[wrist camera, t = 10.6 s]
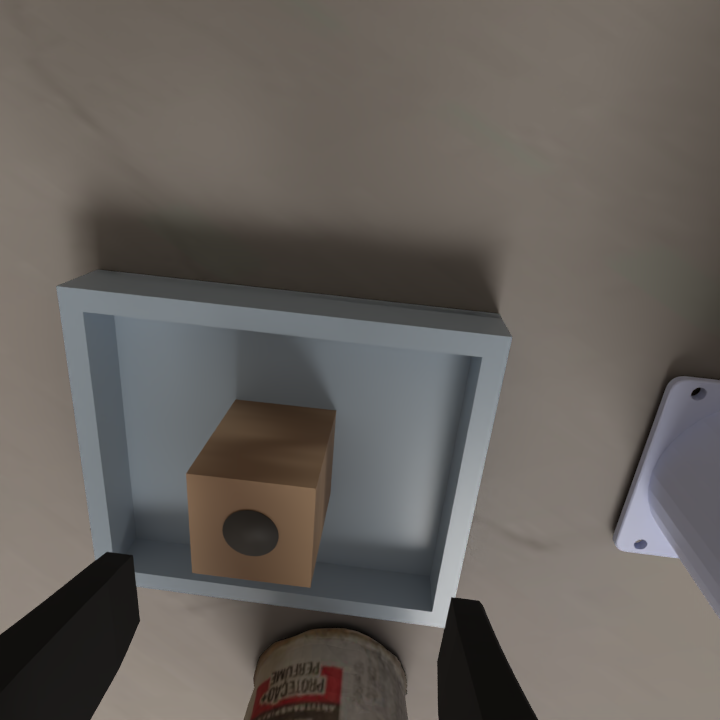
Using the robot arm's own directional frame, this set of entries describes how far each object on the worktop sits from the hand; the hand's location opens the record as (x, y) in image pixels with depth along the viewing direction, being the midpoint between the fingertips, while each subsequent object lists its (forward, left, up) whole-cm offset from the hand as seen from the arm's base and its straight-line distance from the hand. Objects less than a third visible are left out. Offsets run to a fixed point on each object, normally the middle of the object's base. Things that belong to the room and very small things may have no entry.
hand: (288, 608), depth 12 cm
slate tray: (+2, +2, -10) cm, 10 cm away
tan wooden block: (+2, +2, -9) cm, 10 cm away
